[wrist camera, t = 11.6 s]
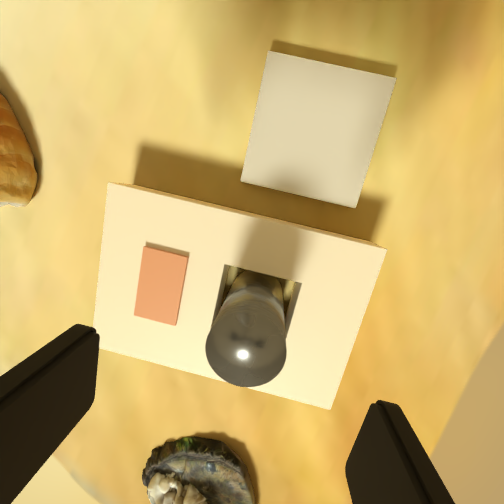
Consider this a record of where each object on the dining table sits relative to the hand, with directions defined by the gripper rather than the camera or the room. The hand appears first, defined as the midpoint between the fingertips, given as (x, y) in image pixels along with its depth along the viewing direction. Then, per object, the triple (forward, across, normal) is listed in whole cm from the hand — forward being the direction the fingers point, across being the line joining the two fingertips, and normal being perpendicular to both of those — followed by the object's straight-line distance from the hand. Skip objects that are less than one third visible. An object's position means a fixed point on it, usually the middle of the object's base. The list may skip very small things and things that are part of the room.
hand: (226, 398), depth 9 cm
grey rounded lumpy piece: (+12, 0, +21) cm, 24 cm away
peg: (+12, 0, +1) cm, 12 cm away
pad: (+12, -2, -11) cm, 17 cm away
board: (+12, +1, +1) cm, 12 cm away
